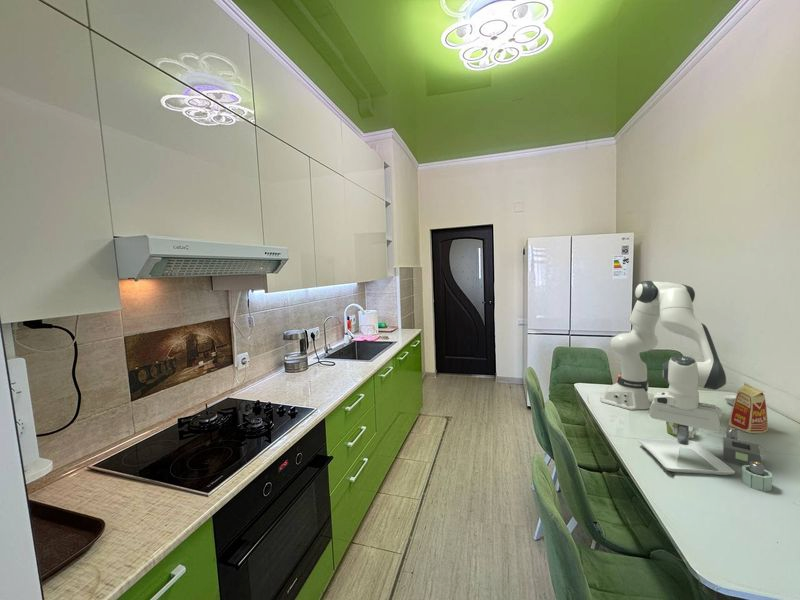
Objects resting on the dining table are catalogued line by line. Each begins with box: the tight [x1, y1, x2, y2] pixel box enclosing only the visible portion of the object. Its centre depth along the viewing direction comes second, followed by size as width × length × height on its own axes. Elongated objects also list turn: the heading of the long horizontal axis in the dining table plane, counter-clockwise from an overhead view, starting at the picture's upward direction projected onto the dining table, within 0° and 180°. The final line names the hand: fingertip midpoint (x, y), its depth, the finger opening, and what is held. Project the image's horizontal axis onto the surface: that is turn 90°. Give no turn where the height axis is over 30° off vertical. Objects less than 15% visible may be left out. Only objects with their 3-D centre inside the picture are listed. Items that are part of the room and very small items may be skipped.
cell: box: [677, 424, 690, 445], centre depth 123 cm, size 3×3×8 cm
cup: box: [741, 465, 773, 492], centre depth 107 cm, size 7×7×5 cm
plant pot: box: [665, 421, 678, 438], centre depth 141 cm, size 9×9×9 cm
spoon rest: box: [723, 394, 736, 406], centre depth 158 cm, size 24×12×7 cm, turn 141°
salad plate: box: [637, 438, 736, 476], centre depth 123 cm, size 21×21×3 cm
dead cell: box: [750, 461, 765, 476], centre depth 107 cm, size 3×3×8 cm
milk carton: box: [728, 382, 769, 434], centre depth 141 cm, size 9×9×20 cm
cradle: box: [722, 436, 762, 466], centre depth 120 cm, size 9×10×6 cm
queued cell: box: [725, 427, 739, 440], centre depth 129 cm, size 3×3×8 cm
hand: (683, 435), depth 123 cm, fingers closed on cell, 3 cm apart
